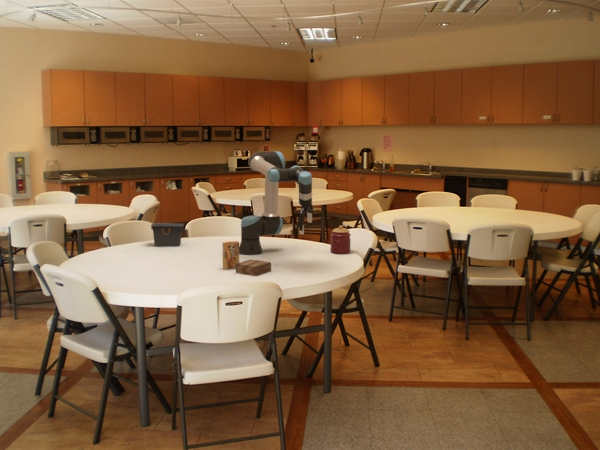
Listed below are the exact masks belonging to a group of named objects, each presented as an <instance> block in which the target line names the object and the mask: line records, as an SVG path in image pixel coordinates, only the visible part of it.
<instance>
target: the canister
mask: <svg viewBox="0 0 600 450" xmlns="http://www.w3.org/2000/svg"><path fill="white" fill-rule="evenodd" d="M330 236H331V237H330V253H332V254H334V255H347V254H350V253H351V241H352V239H351V236H352V235H351V233H350V230H349V229H348V228H345V227H344V226H343V225H339V226H338V227H337V228H336V227H335V228H334V229H332V231H331V233H330Z"/></svg>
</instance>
